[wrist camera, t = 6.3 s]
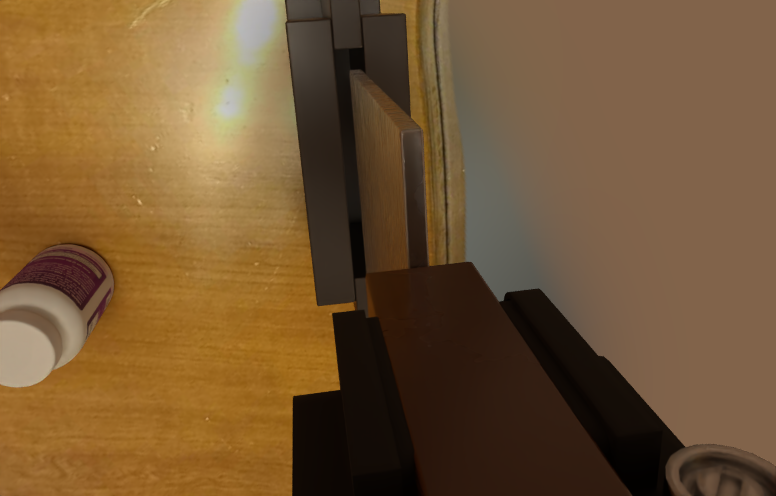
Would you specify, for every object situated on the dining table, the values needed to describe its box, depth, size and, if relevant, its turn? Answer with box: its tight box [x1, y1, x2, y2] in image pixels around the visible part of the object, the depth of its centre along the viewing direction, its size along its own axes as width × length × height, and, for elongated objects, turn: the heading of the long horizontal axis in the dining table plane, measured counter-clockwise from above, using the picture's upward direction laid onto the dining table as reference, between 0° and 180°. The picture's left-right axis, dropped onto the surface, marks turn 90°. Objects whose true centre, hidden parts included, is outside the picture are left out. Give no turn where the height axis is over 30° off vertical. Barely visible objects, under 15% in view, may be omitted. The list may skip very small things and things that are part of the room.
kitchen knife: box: [349, 69, 632, 496], centre depth 14 cm, size 8×2×18 cm, turn 4°
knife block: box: [285, 0, 411, 318], centre depth 34 cm, size 15×5×14 cm, turn 4°
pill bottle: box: [0, 244, 114, 387], centre depth 37 cm, size 5×5×10 cm
